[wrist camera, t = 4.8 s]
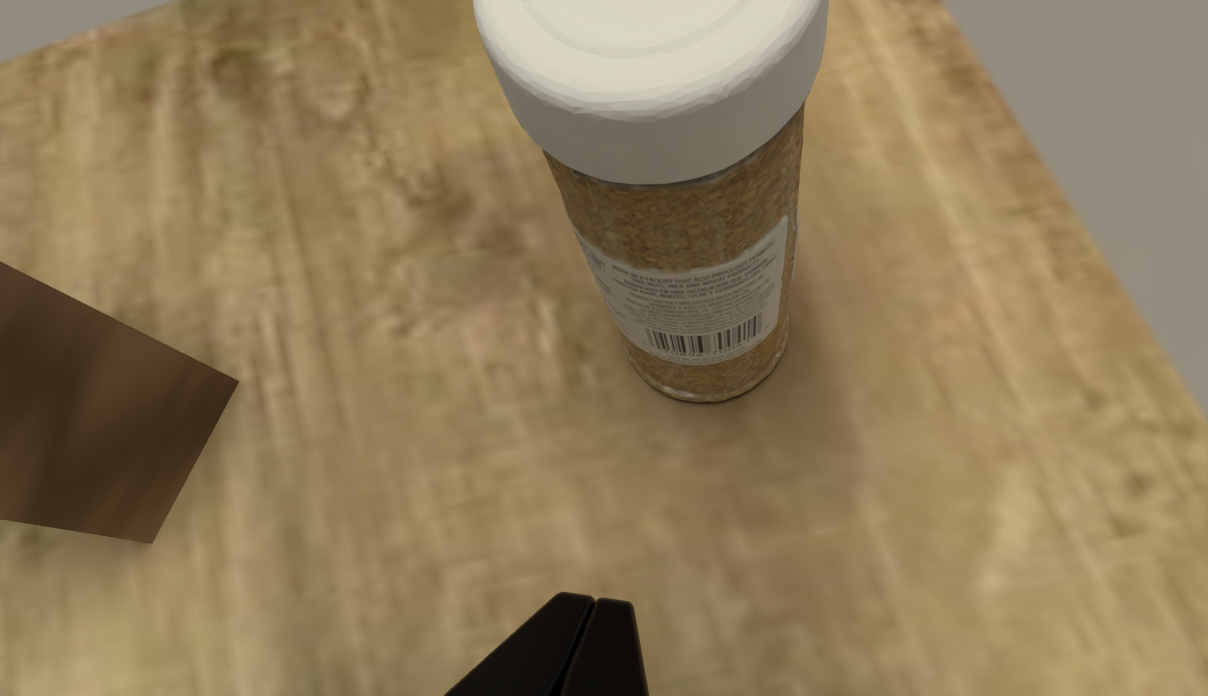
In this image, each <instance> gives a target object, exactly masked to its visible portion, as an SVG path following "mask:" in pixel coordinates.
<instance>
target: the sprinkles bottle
mask: <svg viewBox="0 0 1208 696" xmlns="http://www.w3.org/2000/svg"><path fill="white" fill-rule="evenodd" d="M828 3H829V0H473V6H474V15H475V19H476V23H477V27H478V31H479V34H480V36H481V39H482V42H483V45H484V47H485V49H486V52H487V54H488V57H489V59H490V61H491V64H492V66H493V68H494V71H495V73H496V76H497V78H498V80H499V83H500V85H501V87H502V89H503V91H504V94H505V96H506V98H507V100H508V102H509V105H510V107H511V109H512V111H513V113H514V115H515V117H516V118H517V120H518V121H519V123H520V125H521V126H522V128H523V129H524V130H525V131H526V132H527V133H528V134H529V136H530V137H531V138H532V139H533V140H534V141H535V143H536V144H538V145H539V146H540V147H541V148H542V151H543V154H544V155H545V157H546V159H547V161H548V164H549V167H550V169H551V171H552V173H553V176H554V179H555V181H556V183H557V185H558V187H559V189H560V192H561V197H562V201H563V204H564V207H565V210H566V213H567V216H568V218H569V220H570V223H571V225H572V228H573V230H574V232H575V234H576V236H577V239H578V241H579V243H580V245H581V248H582V250H583V252H584V254H585V257H586V259H587V261H588V264H589V266H590V268H591V271H592V273H593V275H594V277H595V280H596V282H597V285H598V287H599V289H600V291H601V293H602V296H603V298H604V300H605V302H606V304H607V306H608V309H609V311H610V313H611V315H612V317H613V319H614V321H615V323H616V324H617V326H618V327H619V328H620V330H621V338H622V343H623V346H624V348H625V352H626V354H627V357H628V359H629V361H630V362H631V364H632V365H633V366H634V367H635V369H636V370H637V372H638V373H639V374H640V376H641V377H642V378H643V379H644V380H645V381H647V382H648V383H649V384H650V385H651V386H653V387H654V388H656V389H658V390H659V391H661V392H663V393H664V394H666V395H669V396H671V397H674V398H676V399H679V400H687V401H692V402H706V401H711V402H718V401H722V400H727V399H729V398H731V397H735V396H738V395H741V394H743V393H744V392H746V391H749V390H750V389H752V388H753V387H754V386H755V385H757V384H758V383H759V382H760V381H761V380H762V379H763V378H764V377H765V376H767V375H769V374H770V373H771V371H772V370H773V368H774V366H775V365H776V363H777V362H778V361H779V359H780V357H781V355H782V354H783V352H784V350H785V347H786V344H787V341H788V333H789V325H790V313H789V311H788V305H787V300H788V293H789V287H790V286H791V284H792V281H793V276H794V267H795V259H796V248H797V240H798V230H799V211H798V191H799V180H800V165H801V157H802V146H803V122H804V107H805V100H806V98H807V96H808V95H809V93H810V90H811V87H812V85H813V82H814V80H815V77H816V75H817V72H818V70H819V67H820V64H821V60H822V56H823V50H824V44H825V36H826V27H827V17H828Z"/></svg>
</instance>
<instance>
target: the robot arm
mask: <svg viewBox="0 0 1208 696" xmlns="http://www.w3.org/2000/svg"><path fill="white" fill-rule="evenodd" d="M444 696H649V691H648V685H647V680H646V674H645V668H644V663H643V657H642V651H641V646H640V640H639V634H638V628H637V623H636V617H635V611H634V607H633V605H632V603H630V602H628V601H623V600H616V599H609V598H599V599H597V600H596V601H595V599H594V598H593V597H592V596H589V595H583V594H576V593H569V592H560V593H558V594H556V595H555V596H554V597H553V598H552V599H551V600H549V601H548V602H547V603H546V604H545V605H544V606H543V607H542V608H541V609H539V610H538V611H537V612H536V613H535V614H534V615H533V616H532V617H530V618H529V619H528V620H527V621H526V622H525V623H524V624H523V625H522V626H520V627H519V628H518V629H517V630H516V631H515V632H514V633H513V634H512V635H510V636H509V637H508V638H507V639H506V640H505V641H504V642H503V643H502V644H500V645H499V646H498V647H497V648H496V649H495V650H494V651H493V652H492V653H490V654H489V655H488V656H487V657H486V658H485V659H484V660H483V661H482V662H480V663H479V664H478V665H477V666H476V667H475V668H474V669H473V670H472V671H470V672H469V673H468V674H467V675H466V676H465V677H464V678H463V679H461V680H460V681H459V682H458V683H457V684H456V685H455V686H454V687H453V688H451V689H450V690H449V691H448V692H447V693H446V694H445V695H444Z"/></svg>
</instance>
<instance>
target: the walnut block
mask: <svg viewBox="0 0 1208 696" xmlns="http://www.w3.org/2000/svg"><path fill="white" fill-rule="evenodd" d="M238 382H239V381H237V380H235V379H233V378H232V377H230V376H228V375H226V374H224V373H222V372H220V371H218V370H216V369H214V368H212V367H210V366H208V365H206V364H204V363H202V362H200V361H198V360H196V359H194V358H192V357H190V356H188V355H186V354H184V353H182V352H180V351H178V350H176V349H174V348H172V347H170V346H168V345H166V344H164V343H162V342H160V341H158V340H156V339H154V338H152V337H150V336H148V335H146V334H144V333H142V332H140V331H138V330H136V329H134V328H132V327H130V326H128V325H126V324H124V323H122V322H120V321H118V320H116V319H114V318H112V317H110V316H108V315H106V314H104V313H102V312H100V311H98V310H96V309H94V308H92V307H90V306H88V305H86V304H84V303H82V302H80V301H78V300H76V299H74V298H72V297H70V296H68V295H66V294H64V293H62V292H60V291H58V290H56V289H54V288H52V287H50V286H48V285H46V284H44V283H42V282H40V281H38V280H36V279H34V278H32V277H30V276H28V275H26V274H24V273H22V272H20V271H18V270H16V269H14V268H12V267H10V266H8V265H6V264H4V263H2V262H0V519H2V520H9V521H15V522H21V523H27V524H34V525H40V526H46V527H53V528H59V529H65V530H72V531H78V532H84V533H90V534H97V535H103V536H109V537H116V538H122V539H128V540H134V541H141V542H147V543H153V541H154V539H155V537H156V535H157V533H158V531H159V530H160V528H161V526H162V524H163V522H164V520H165V518H166V517H167V515H168V513H169V511H170V509H171V507H172V505H173V504H174V502H175V500H176V498H177V496H178V494H179V492H180V490H181V489H182V487H183V485H184V483H185V481H186V479H187V477H188V476H189V474H190V472H191V470H192V468H193V466H194V464H195V463H196V461H197V459H198V457H199V455H200V453H201V451H202V449H203V448H204V446H205V444H206V442H207V440H208V438H209V436H210V435H211V433H212V431H213V429H214V427H215V425H216V423H217V421H218V420H219V418H220V416H221V414H222V412H223V410H224V408H225V407H226V405H227V403H228V401H229V399H230V397H231V395H232V394H233V392H234V390H235V388H236V386H237V384H238Z"/></svg>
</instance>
